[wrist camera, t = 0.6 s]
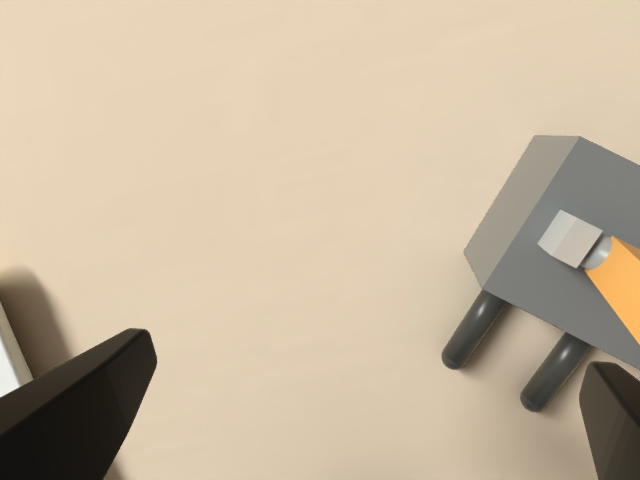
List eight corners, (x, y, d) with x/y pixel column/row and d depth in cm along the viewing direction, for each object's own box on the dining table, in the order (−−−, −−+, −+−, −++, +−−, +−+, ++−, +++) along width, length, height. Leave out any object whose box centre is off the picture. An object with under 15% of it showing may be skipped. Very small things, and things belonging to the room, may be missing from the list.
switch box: (562, 421, 26) (627, 539, 18) (408, 340, 26) (411, 422, 19) (718, 225, 22) (879, 272, 15) (534, 135, 23) (600, 136, 15)
